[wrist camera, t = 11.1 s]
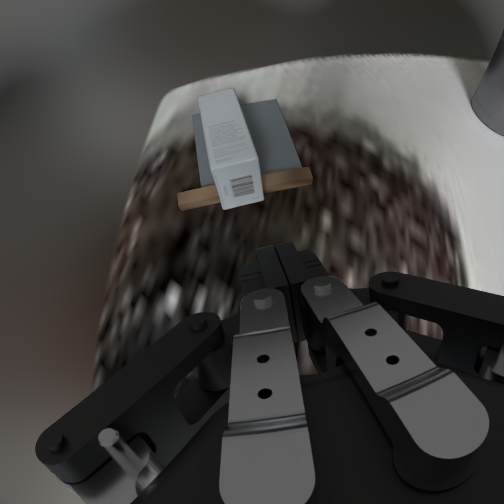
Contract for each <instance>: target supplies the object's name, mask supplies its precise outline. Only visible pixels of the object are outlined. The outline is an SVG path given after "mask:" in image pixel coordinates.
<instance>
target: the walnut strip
mask: <svg viewBox="0 0 504 504" xmlns="http://www.w3.org/2000/svg"><path fill="white" fill-rule="evenodd" d="M261 180H262V188H263V193H268V192H274V191H279V190H284V189H289V188H295V187H300V186H306V185H311V184H312V181H313V177H312V174H311V171H310V168H309V167H304V168H298V169H292V170H286V171H281V172H275V173H270V174H265V175H261ZM177 196H178V206H179V208H180V209H181V211H184V210H188V209H192V208H197V207H201V206H206V205H210V204H215V203H219V202H221V201H220V197H219V194H218V190H217V187H216V185H211V186H206V187H202V188H198V189H193V190H189V191H185V192H180V193H177Z"/></svg>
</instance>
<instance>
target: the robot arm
mask: <svg viewBox="0 0 504 504" xmlns="http://www.w3.org/2000/svg"><path fill="white" fill-rule="evenodd" d="M471 104H472V107H473V110H474V111H475V113H476V115H477V116H478V117H479V118H480V120H481V121H482V122H483V123H484V124H486V125H487V126H488V127H489V128H490V129H492V130H493V131H495V132H497V133H498V134H500V135H503V136H504V29H503V31H502V34H501V37H500V39H499V41H498V44H497V46H496V49H495V51H494V53H493V56H492V58H491V60H490V62H489V65H488V67H487V69H486V71H485V73H484V76H483V78H482V80H481V82H480V84H479V86H478V88H477V90H476V92H475V94H474V96H473V98H472V101H471ZM274 248H275V249H274ZM256 254H257V258H258V260H257V261H252V262H247V263H245V264H244V266H243V267H242V269H241V275H242V283H243V292H244V298H243V299H242V301H241V310H240V311H239V312H238V313H236V314H235V315H233V316H231V317H229V318H227V319H224V320H222V321H221V320H220V318H219V316H218V315H216V314H214V313H211V312H201V313H196V314H193V315H191V316H188V317H187V318H185V319H184V320H182V321H181V322H180V323H178V324H177V325H176V326H175V327H174V328H172V329H171V330H170V331H169V332H167V333H166V334H165V335H164V336H162V337H161V338H160V339H159V340H157V341H156V342H155V343H154V344H152V345H151V346H150V347H149V348H148V349H146V350H145V351H144V352H143V353H141V354H140V355H139V356H138V357H136V358H135V359H134V360H133V361H131V362H130V363H129V364H128V365H126V366H125V367H124V368H123V369H121V370H120V371H119V372H118V373H116V374H115V375H114V376H113V377H111V378H110V379H109V380H108V381H106V382H105V383H104V384H103V385H101V386H100V387H99V388H98V389H96V390H95V391H94V392H93V393H91V394H90V395H89V396H88V397H86V398H85V399H84V400H83V401H82V402H80V403H79V404H78V405H76V406H75V407H74V408H72V409H71V410H70V411H69V412H67V413H66V414H65V415H64V416H62V417H61V418H60V419H59V420H57V421H56V422H55V423H54V424H52V425H51V426H50V427H48V428H47V429H46V430H45V431H44V432H43V433H42V434H41V435H40V437H39V438H38V440H37V443H36V448H35V451H36V455H37V457H38V459H39V460H40V461H41V462H42V463H43V464H44V465H45V466H46V467H47V468H48V469H49V470H50V471H51V472H52V473H54V474H55V475H56V477H57V479H58V480H60V481H61V482H62V483H63V484H64V485H65V486H66V487H67V488H69V489H70V490H71V491H72V492H74V493H75V494H76V495H77V496H78V497H80V498H81V499H82V500H83V501H84V502H85V503H86V504H504V296H501V295H496V294H492V293H487V292H483V291H479V290H474V289H470V288H466V287H461V286H457V285H452V284H448V283H443V282H439V281H435V280H430V279H426V278H421V277H417V276H412V275H408V274H403V273H398V272H383V273H379V274H377V275H375V276H373V277H372V278H371V279H370V281H369V288H361V289H349V288H348V287H347V286H346V285H345V284H344V283H343V282H342V281H341V280H340V279H339V278H336V277H333V276H330V275H329V274H328V272H327V271H326V269H325V268H324V266H323V265H322V263H321V262H320V260H319V259H318V258H317V256H316V255H315V253H312V252H310V251H308V250H304V251H299V252H298V251H297V250H296V248H295V246H294V244H293V243H292V241H291V242H286V243H281V244H276V245H274V247H273V245H272V246H267V247H262V248H258V249H256ZM409 316H413V317H417V318H420V319H424V320H427V321H431V322H434V323H437V324H438V325H439V326H440V327H441V328H442V330H443V339H442V340H439V339H435V338H432V337H429V336H425V335H422V334H419V333H415V332H412V331H409V330H408V323H409ZM296 333H297V336H298V339H299V341H304V340H307V342H308V348H309V355H310V358H311V360H312V362H313V364H314V366H315V368H316V370H317V372H318V374H313V375H299V374H298V368H297V362H296V356H295V346H294V343H296V342H297V336H296ZM192 370H193V372H194V374H195V377H196V378H195V379H194V380H193V381H192V382H191V383H190V384H189V385H188V386H187V387H186V388H184V389H183V390H182V391H181V392H180V393H179V394H178V395H177V396H176V397H175V398H174V390H175V388H176V386H177V384H178V383H179V382H180V381H181V380H183V379H184V378H185V377H186V376H187V375H188V374H189V373H190V372H191V371H192Z"/></svg>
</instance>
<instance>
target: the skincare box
mask: <svg viewBox="0 0 504 504" xmlns="http://www.w3.org/2000/svg"><path fill="white" fill-rule="evenodd" d="M198 102H199V108H200V114H201V120H202V126H203V131H204V137H205V142H206V148H207V154H208V159H209V164H210V169H211V173H212V175H213V178H214V181H215V184H216V187H217V190H218V194H219V197H220V201H221V205H222V208H223V209H224V210H226V209H230V208H234V207H238V206H242V205H246V204H250V203H255V202H259V201H262V200H264V195H263V188H262V180H261V173H260V166H259V159H258V155H257V152H256V150H255V147H254V144H253V141H252V138H251V135H250V132H249V129H248V127H247V124H246V121H245V118H244V115H243V112H242V109H241V107H240V104H239V101H238V98H237V96H236V93H235V90H234V88H230V89H226V90H222V91H218V92H214V93H210V94H206V95H202V96H198Z"/></svg>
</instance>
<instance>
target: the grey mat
mask: <svg viewBox="0 0 504 504" xmlns="http://www.w3.org/2000/svg"><path fill="white" fill-rule="evenodd" d="M240 107H241V109H242V112H243V115H244V118H245V121H246V124H247V127H248V129H249V132H250V135H251V138H252V141H253V144H254V147H255V150H256V152H257V155H258V159H259V166H260V173H261V175H265V174H270V173H275V172H281V171H286V170H292V169H298V168H302V165H301V163H300V160H299V157H298V154H297V152H296V149H295V146H294V144H293V141H292V138H291V136H290V133H289V130H288V128H287V125H286V123H285V120H284V117H283V115H282V112H281V110H280V107H279V105H278V102H277V100H276V99H275V100H268V101H262V102H256V103H250V104H244V105H240ZM193 124H194V133H195V141H196V150H197V158H198V166H199V173H200V181H201V188H202V187H206V186H211V185H216V184H215V181H214V178H213V175H212V173H211V169H210V164H209V159H208V154H207V148H206V142H205V137H204V131H203V126H202V120H201V114H196V115H193Z"/></svg>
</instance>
